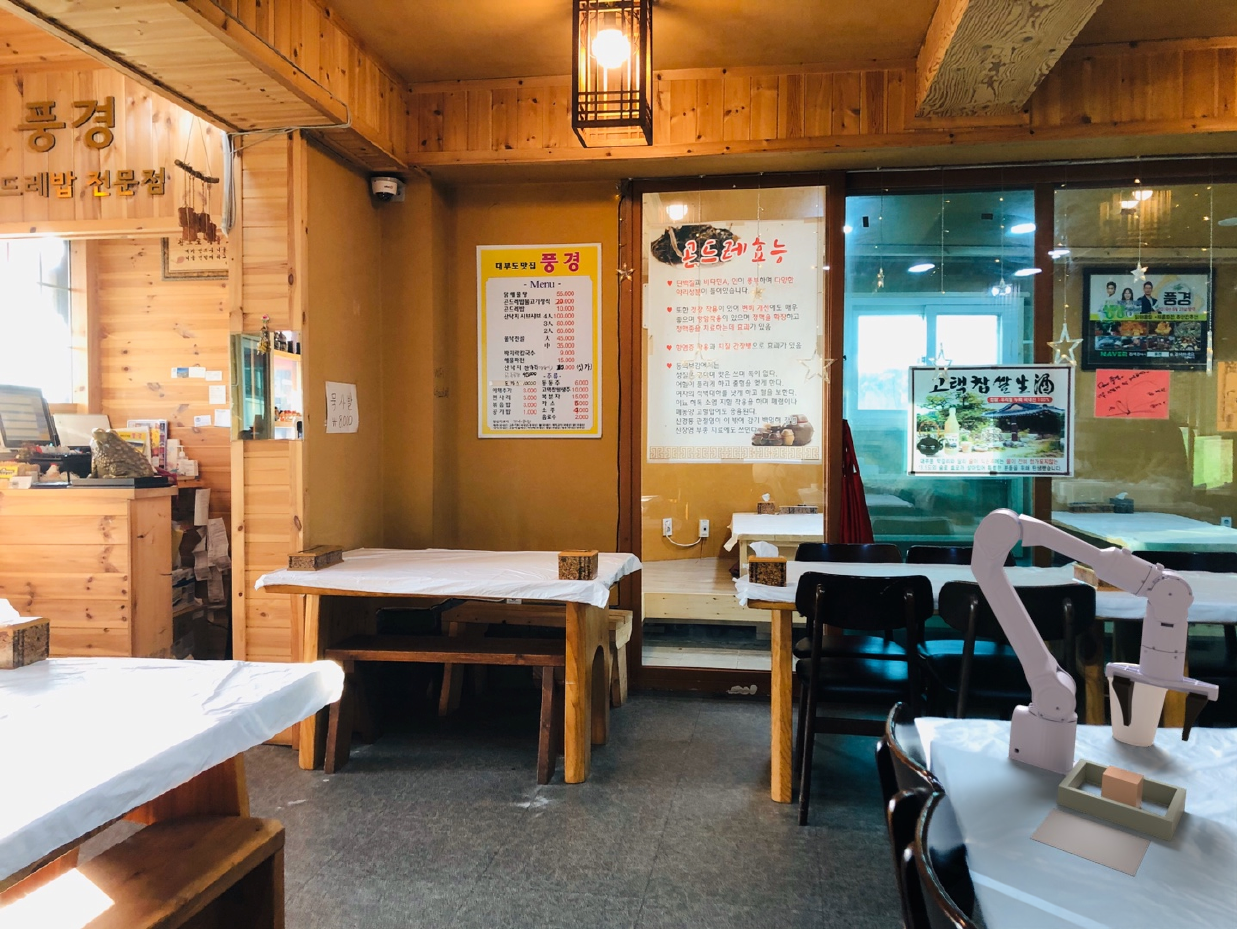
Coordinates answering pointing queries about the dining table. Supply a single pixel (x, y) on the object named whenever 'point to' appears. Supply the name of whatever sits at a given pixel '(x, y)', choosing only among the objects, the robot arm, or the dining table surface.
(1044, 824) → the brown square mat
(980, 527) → the robot arm
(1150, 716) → the foam cup
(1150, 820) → the olive bin
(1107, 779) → the clay block
